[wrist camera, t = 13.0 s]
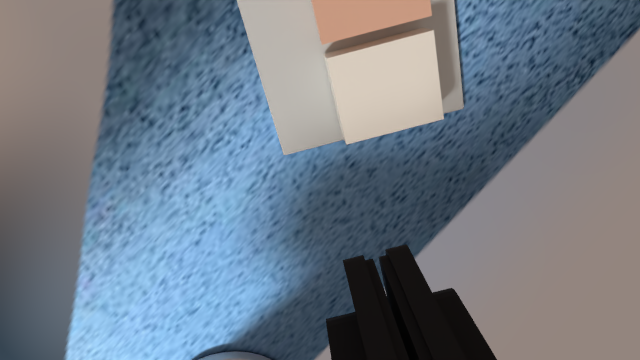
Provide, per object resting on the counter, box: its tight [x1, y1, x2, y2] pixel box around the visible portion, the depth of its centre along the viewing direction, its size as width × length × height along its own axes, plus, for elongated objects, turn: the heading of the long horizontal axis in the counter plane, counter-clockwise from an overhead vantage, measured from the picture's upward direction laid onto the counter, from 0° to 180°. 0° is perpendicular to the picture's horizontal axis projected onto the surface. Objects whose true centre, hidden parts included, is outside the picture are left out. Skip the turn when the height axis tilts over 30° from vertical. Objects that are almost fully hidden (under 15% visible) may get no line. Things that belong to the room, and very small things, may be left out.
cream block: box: [323, 28, 444, 145], centre depth 28 cm, size 6×2×7 cm
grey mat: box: [237, 0, 464, 155], centre depth 28 cm, size 14×14×1 cm
